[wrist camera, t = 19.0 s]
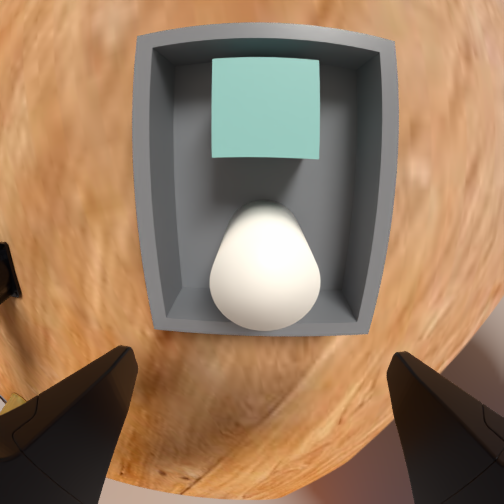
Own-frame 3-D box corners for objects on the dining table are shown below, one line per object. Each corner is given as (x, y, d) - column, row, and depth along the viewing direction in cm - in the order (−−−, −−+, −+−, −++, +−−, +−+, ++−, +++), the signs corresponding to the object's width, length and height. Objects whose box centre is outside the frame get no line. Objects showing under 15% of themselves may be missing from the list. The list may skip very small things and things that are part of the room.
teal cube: (304, 82, 15) (319, 60, 11) (304, 156, 17) (319, 159, 12) (225, 81, 15) (212, 58, 11) (225, 154, 17) (211, 157, 13)
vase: (27, 413, 35) (0, 458, 22) (8, 392, 33) (-23, 437, 20) (40, 415, 34) (10, 465, 21) (19, 392, 32) (-15, 442, 19)
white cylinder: (298, 270, 20) (314, 330, 13) (227, 269, 20) (213, 329, 14) (301, 200, 18) (325, 233, 12) (225, 200, 18) (205, 232, 12)
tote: (349, 296, 21) (367, 333, 17) (174, 292, 22) (154, 329, 17) (365, 62, 15) (394, 41, 10) (165, 58, 15) (137, 36, 11)
